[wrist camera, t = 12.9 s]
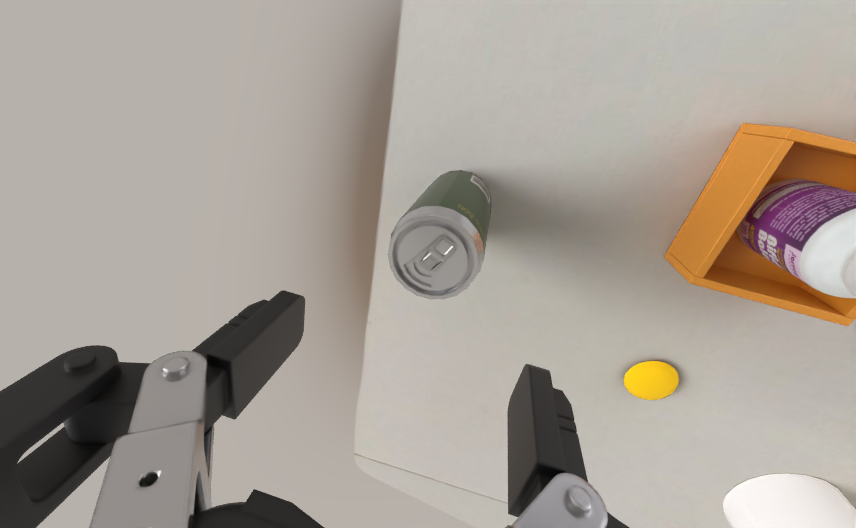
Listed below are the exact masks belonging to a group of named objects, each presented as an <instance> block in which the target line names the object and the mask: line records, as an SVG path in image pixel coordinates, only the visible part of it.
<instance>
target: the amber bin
mask: <svg viewBox="0 0 856 528" xmlns="http://www.w3.org/2000/svg"><path fill="white" fill-rule="evenodd" d="M787 179H806V180H811V181H815V182H819V183H822V184H826V185H829V186H833V187H836V188H840V189H844V190H847V191H851V192H854V193H856V142H852V141H848V140H843V139H839V138H834V137H830V136H826V135H821V134H817V133H813V132H808V131H804V130H799V129H795V128H789V127H779V126H769V125H758V124H748V123H743V124H742V125H741V127H740V129H739V130H738V132H737V134H736V135H735V137H734V139H733V141H732V142H731V144H730V146H729V147H728V149H727V151H726V152H725V154H724V156H723V158H722V159H721V161H720V163H719V164H718V166H717V168H716V169H715V171H714V173H713V174H712V176H711V178H710V180H709V181H708V183H707V185H706V186H705V188H704V190H703V191H702V193H701V195H700V197H699V198H698V200H697V202H696V203H695V205H694V207H693V208H692V210H691V212H690V213H689V215H688V217H687V219H686V220H685V222H684V224H683V225H682V227H681V229H680V230H679V232H678V234H677V236H676V237H675V239H674V241H673V242H672V244H671V246H670V247H669V249H668V251H667V252H666V254H665V256H664V258H665V259H666V260H667V261H668V262H669V263H670V264H671V265H672V266H673V267H674V268H675V269H676V270H677V271H678V272H679V273H680V274H681V275H682V276H683V277H684V278H685V279H686V280H687V281H688V282H689V283H691V284H695V285H698V286H702V287H706V288H709V289H713V290H717V291H720V292H724V293H728V294H731V295H735V296H739V297H742V298H746V299H750V300H753V301H757V302H761V303H764V304H768V305H772V306H775V307H779V308H783V309H786V310H790V311H794V312H797V313H801V314H805V315H809V316H812V317H816V318H820V319H823V320H827V321H831V322H834V323H838V324H842V325H845V326H849V325H850V324H851V323H852V322H853V321H854V319H856V298H842V297H836V296H832V295H828V294H825V293H823V292H820V291H819V290H816V289H814V288H812V287H811V286H809V285H808V284H806V283H805V282H803V281H802V280H800V279H799V278H797V277H795V276H794V275H792V274H791V273H789V272H787V271H786V270H784V269H782V268H781V267H779V266H778V265H776V264H774V263H772V262H771V261H769V260H768V259H766V258H765V257H763V256H761V255H760V254H758V253H757V252H755V251H754V250H752V249H750V248H749V247H748V246H746V245H745V244H744V243H743V242H742V241H741V240H740V238H739V236H738V234H737V230H736V228H737V227H738V225H739V224H740V222H741V221H742V219H743V218H744V216H745V215H746V213H747V212H748V210H749V209H750V208H751V206H752V205H753V203H754V202H755V200H756V199H757V197H758V196H759V194H760V193H761V191H762V190H763V188H764V187H765V186H767V185H769V184H772V183H775V182H778V181H782V180H787Z"/></svg>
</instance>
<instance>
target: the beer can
mask: <svg viewBox="0 0 856 528" xmlns="http://www.w3.org/2000/svg"><path fill="white" fill-rule="evenodd" d="M490 212H491V196H490V193H489V190H488V188H487V186H486V185H485V184H484V182H483V181H482V180H481V179H480V178H479V177H477V176H475V175H474V174H472V173H470V172H466V171H462V170H459V171H450V172H447V173H445V174H443V175H441V176H439V177H438V178H437V179H436V180H435V181H434V182H433V183H432V184H431V185H430V186H429V187H428V188H427V190H426V191H425V192H424V193H423V194H422V195H421V196H420V197H419V199H418V200H417V201H416V202H415V203H414V204H413V205H412V206H411V208H410V209H409V210H408V211H407V212H406V213H405V214H404V215H403V217H402V218H401V219H400V220H399V221H398V223H397V225H396V226H395V228H394V230H393V232H392V234H391V240H390V245H389V251H388V258H389V263H390V268H391V270H392V272H393V273H394V275H395V277H396V279H397V280H398V281H399V282H400V283H401V284H402V285H403V286H404V287H405V288H406V289H407V290H409V291H411V292H412V293H414V294H416V295H417V296H421V297H424V298H428V299H446V298H449V297H453V296H456V295H458V294H459V293H461V292H462V291H464V290H465V289H467V287H468V286H469V285H470V283H471V282H472V281H473V280H474V279H475V277H476V276H477V275H478V273H479V272H480V269H481V266H482V263H483V259H484V254H485V247H486V240H487V233H488V226H489V219H490Z"/></svg>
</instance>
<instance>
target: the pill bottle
mask: <svg viewBox="0 0 856 528" xmlns="http://www.w3.org/2000/svg"><path fill="white" fill-rule="evenodd" d="M736 230H737V234H738V236H739V238H740V240H741V241H742V242H743V243H744V244H745V245H746V246H748V247H749V248H750V249H752V250H754V251H755V252H757V253H758V254H760V255H761V256H763V257H765V258H766V259H768V260H769V261H771V262H772V263H774V264H776V265H778V266H779V267H781V268H782V269H784V270H786V271H787V272H789V273H791V274H792V275H794V276H795V277H797V278H799V279H800V280H802V281H803V282H805V283H806V284H808V285H809V286H811V287H812V288H814V289H816V290H819V291H820V292H823V293H825V294H828V295H832V296H836V297H842V298H856V193H854V192H851V191H847V190H844V189H840V188H836V187H833V186H829V185H826V184H822V183H819V182H815V181H811V180H806V179H787V180H782V181H778V182H775V183H772V184H769V185H767V186H765V187H764V188H763V190H762V191H761V193H760V194H759V196H758V197H757V199H756V200H755V202H754V203H753V205H752V206H751V208H750V209H749V210H748V212H747V213H746V215H745V216H744V218H743V219H742V221H741V222H740V224H739V225H738V227H737V228H736Z"/></svg>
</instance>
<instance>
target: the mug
mask: <svg viewBox="0 0 856 528" xmlns="http://www.w3.org/2000/svg"><path fill="white" fill-rule="evenodd" d="M722 505H723V509H724V514H725V516H726V518H727V520H728V522H729V523H730V525H731V527H732V528H856V509H855V508H854V507H853V506H852V505H851V504H850V502H849V501H848V500H847V499H846V498H845V497H844V495H843V494H842V493H841V492H840V491H839V490H838V488H836V487H834V486H833V485H831V484H829V483H828V482H826V481H825V480H821V479H818V478H815V477H811V476H808V475H800V474H790V473H783V474H769V475H764V476H760V477H756V478H752V479H749V480H747V481H745V482H743V483H741V484H739V485H737V486H735V487H734V488H733V489H732V490H731V491H730V492H729V493H728V494H727V495H726V496H725V499H724V502H723V504H722Z"/></svg>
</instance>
